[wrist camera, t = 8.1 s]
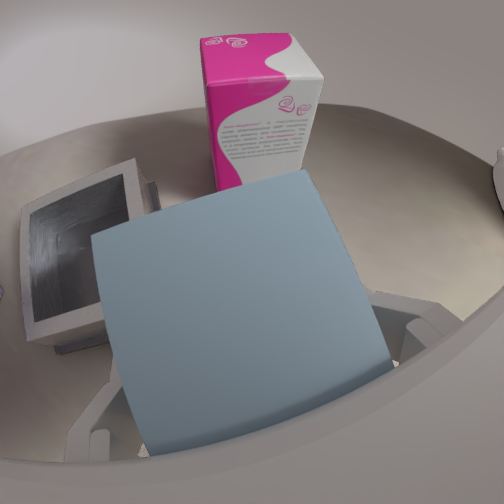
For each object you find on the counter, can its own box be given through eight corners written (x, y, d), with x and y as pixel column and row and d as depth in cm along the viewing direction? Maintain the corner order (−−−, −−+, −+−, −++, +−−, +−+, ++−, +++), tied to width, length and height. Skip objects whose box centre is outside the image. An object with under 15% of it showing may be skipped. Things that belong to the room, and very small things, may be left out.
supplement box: (275, 144, 24) (294, 30, 13) (293, 200, 22) (331, 81, 11) (209, 152, 23) (198, 34, 13) (218, 211, 21) (205, 86, 11)
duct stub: (263, 289, 17) (305, 168, 6) (292, 365, 16) (398, 380, 5) (185, 315, 17) (90, 235, 5) (212, 393, 15) (156, 469, 4)
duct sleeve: (156, 185, 22) (141, 150, 18) (190, 318, 18) (176, 306, 14) (46, 228, 20) (17, 204, 16) (60, 354, 17) (23, 350, 12)
